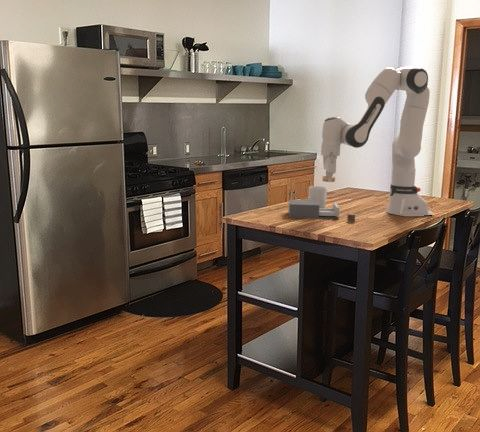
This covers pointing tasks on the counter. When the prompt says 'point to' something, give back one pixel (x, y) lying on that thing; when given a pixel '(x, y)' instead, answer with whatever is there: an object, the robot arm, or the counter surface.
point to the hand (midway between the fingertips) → (328, 180)
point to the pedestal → (351, 217)
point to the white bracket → (329, 211)
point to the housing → (306, 209)
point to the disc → (325, 178)
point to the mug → (318, 195)
